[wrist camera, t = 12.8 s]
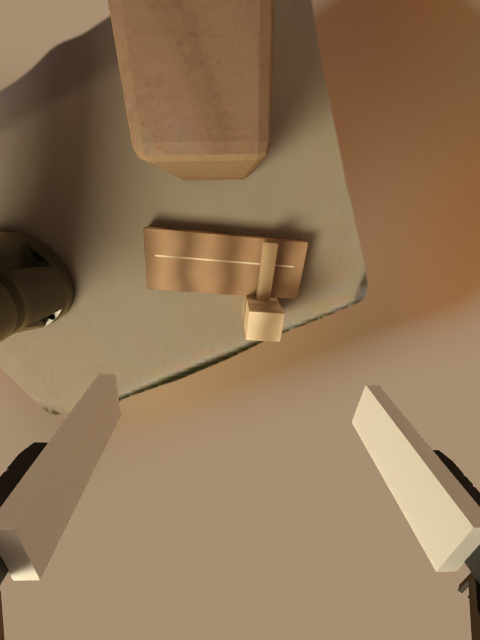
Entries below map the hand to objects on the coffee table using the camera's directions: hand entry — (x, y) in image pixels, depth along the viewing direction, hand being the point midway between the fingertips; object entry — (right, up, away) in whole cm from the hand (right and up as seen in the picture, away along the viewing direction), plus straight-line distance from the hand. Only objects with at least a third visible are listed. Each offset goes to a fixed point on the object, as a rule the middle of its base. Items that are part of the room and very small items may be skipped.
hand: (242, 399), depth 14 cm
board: (-2, +14, +28) cm, 31 cm away
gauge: (+3, +11, +29) cm, 31 cm away
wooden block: (-4, +29, +21) cm, 35 cm away
